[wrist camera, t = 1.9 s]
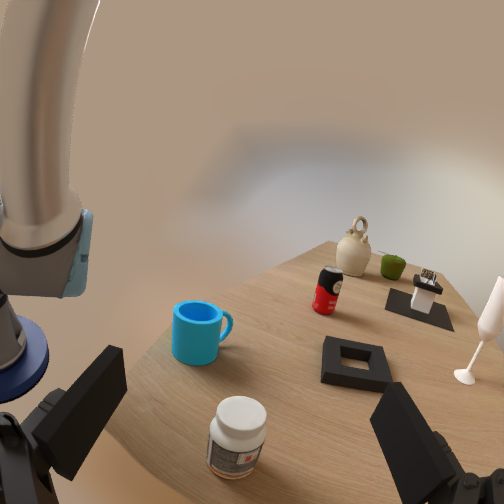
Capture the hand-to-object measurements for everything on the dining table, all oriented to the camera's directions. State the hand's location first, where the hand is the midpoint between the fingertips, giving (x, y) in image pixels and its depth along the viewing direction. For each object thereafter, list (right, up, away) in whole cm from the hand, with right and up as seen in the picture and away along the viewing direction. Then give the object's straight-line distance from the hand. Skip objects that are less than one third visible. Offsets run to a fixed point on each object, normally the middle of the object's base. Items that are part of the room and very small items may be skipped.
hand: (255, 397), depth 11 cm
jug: (+42, -2, +104) cm, 113 cm away
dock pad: (+19, -16, +35) cm, 43 cm away
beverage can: (+19, -9, +60) cm, 64 cm away
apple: (+65, -6, +108) cm, 126 cm away
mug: (-9, -11, +35) cm, 38 cm away
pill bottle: (-3, -18, +13) cm, 22 cm away
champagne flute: (+48, -22, +31) cm, 62 cm away
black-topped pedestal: (+60, -14, +73) cm, 95 cm away
